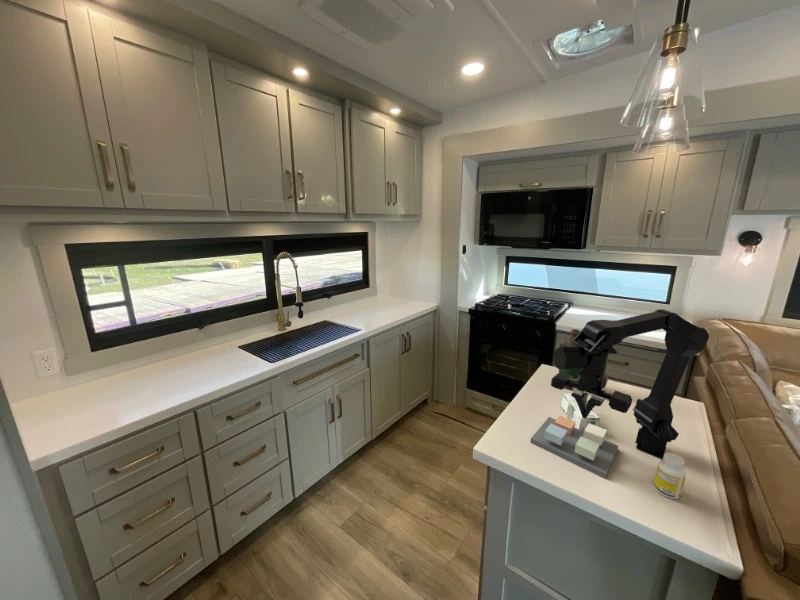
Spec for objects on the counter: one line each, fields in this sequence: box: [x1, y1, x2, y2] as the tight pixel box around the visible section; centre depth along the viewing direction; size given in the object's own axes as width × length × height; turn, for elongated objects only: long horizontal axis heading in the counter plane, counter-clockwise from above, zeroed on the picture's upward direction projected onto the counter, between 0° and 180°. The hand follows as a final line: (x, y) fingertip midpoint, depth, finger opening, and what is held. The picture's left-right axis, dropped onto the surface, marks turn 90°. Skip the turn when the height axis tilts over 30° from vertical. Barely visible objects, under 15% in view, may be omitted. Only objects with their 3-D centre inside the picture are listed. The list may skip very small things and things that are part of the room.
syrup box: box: [560, 392, 600, 431], centre depth 108 cm, size 6×6×14 cm
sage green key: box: [574, 436, 600, 461], centre depth 89 cm, size 5×5×2 cm
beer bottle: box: [558, 329, 581, 391], centre depth 128 cm, size 8×8×24 cm
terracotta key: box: [554, 415, 576, 436], centre depth 101 cm, size 5×5×2 cm
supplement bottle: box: [652, 452, 687, 500], centre depth 79 cm, size 5×5×10 cm
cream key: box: [583, 423, 608, 445], centre depth 95 cm, size 5×5×2 cm
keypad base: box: [529, 416, 619, 479], centre depth 96 cm, size 20×15×2 cm
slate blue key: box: [544, 424, 567, 446], centre depth 95 cm, size 5×5×2 cm
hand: (584, 417), depth 90 cm, fingers closed
